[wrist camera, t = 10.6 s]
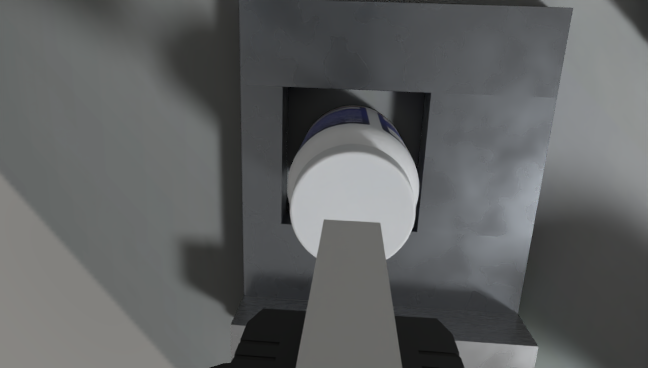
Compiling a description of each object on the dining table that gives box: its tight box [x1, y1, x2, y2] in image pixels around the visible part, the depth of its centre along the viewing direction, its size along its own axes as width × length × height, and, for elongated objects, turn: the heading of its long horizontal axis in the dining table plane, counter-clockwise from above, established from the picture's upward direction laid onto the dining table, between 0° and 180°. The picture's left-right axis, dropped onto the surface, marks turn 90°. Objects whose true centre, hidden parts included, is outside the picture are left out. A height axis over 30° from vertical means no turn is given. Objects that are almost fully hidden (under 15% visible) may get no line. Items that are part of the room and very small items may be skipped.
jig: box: [231, 0, 573, 368], centre depth 24 cm, size 20×16×5 cm
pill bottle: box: [287, 105, 419, 260], centre depth 21 cm, size 6×6×10 cm
